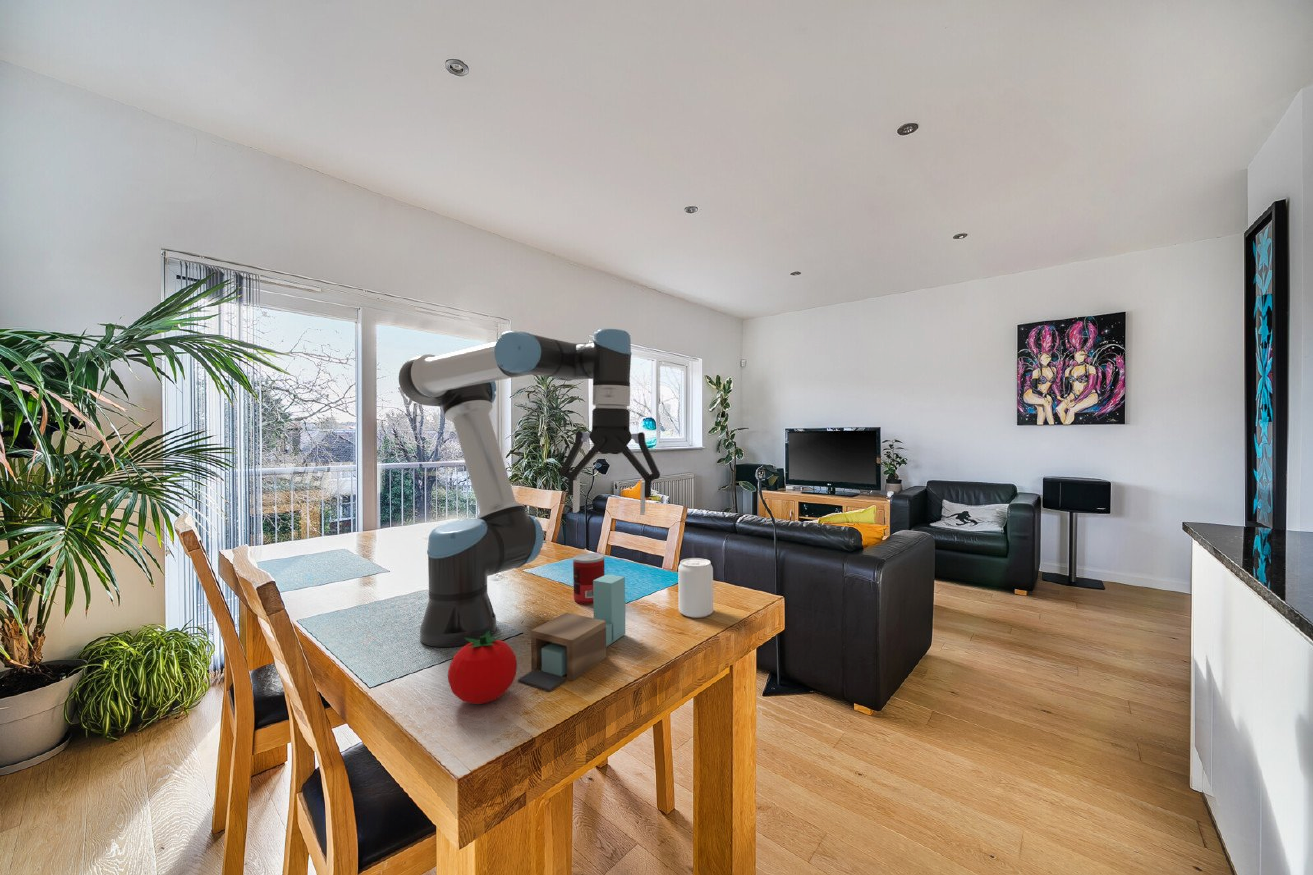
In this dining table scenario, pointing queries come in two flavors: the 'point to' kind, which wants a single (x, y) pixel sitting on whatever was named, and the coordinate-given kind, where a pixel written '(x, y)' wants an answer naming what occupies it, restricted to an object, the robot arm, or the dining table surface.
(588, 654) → the tunnel
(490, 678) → the tomato
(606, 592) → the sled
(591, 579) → the canned food
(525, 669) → the dining table surface
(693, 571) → the beverage can
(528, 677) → the pad
